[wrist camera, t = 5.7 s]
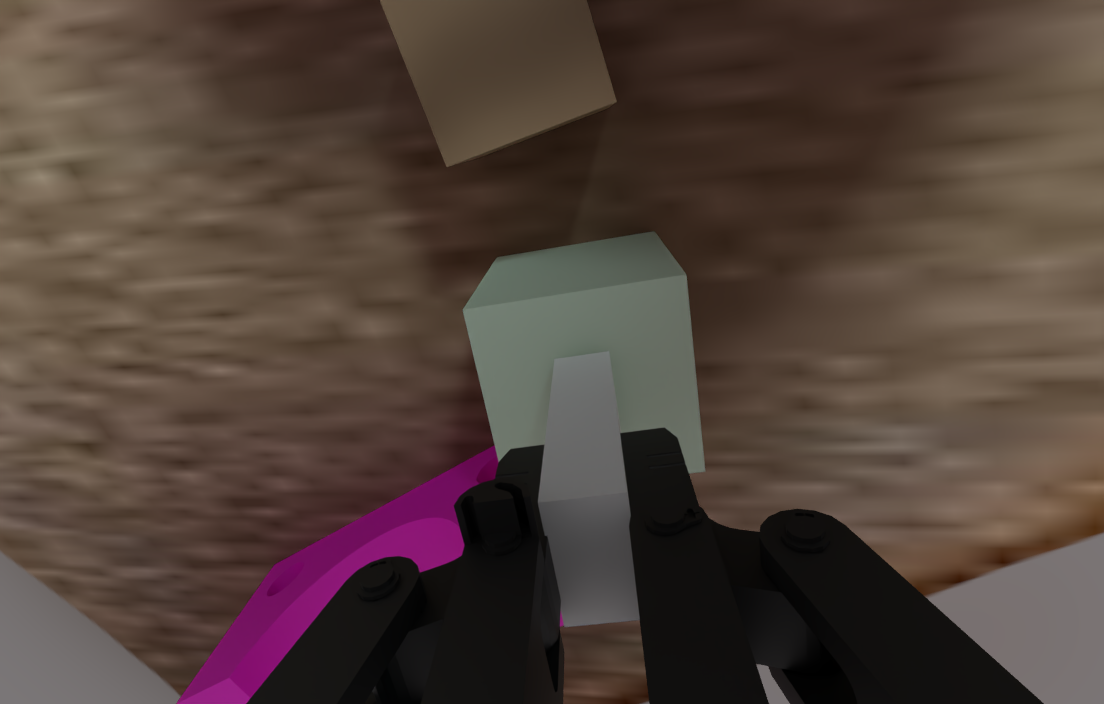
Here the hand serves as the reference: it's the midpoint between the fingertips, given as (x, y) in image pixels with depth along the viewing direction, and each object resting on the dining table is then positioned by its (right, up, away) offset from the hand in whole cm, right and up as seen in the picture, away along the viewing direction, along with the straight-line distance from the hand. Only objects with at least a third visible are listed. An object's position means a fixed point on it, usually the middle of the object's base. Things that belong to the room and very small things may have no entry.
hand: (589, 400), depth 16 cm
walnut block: (-2, +11, +4) cm, 12 cm away
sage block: (0, +3, +7) cm, 7 cm away
